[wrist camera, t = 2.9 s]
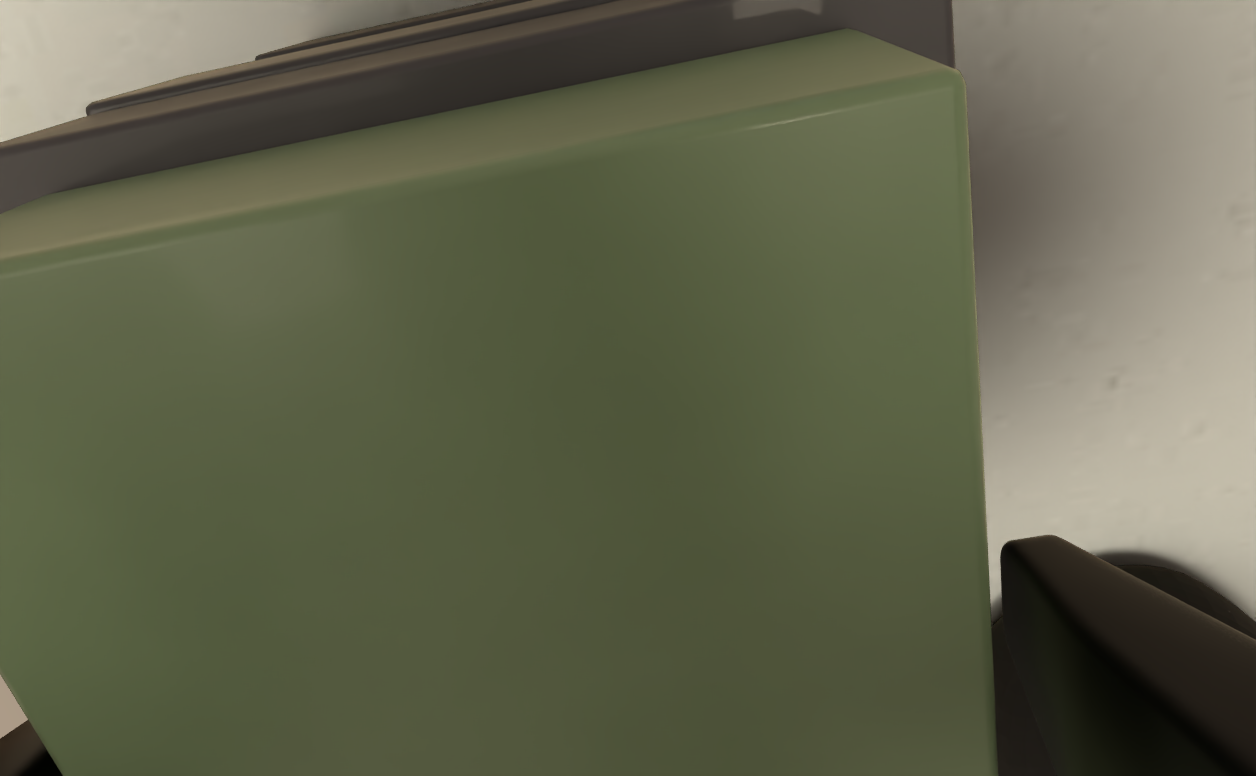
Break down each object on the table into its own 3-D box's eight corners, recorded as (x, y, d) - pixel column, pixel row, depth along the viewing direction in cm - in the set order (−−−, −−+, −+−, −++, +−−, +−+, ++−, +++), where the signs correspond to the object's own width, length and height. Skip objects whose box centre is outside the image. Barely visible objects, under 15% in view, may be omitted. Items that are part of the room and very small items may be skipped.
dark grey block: (465, 538, 20) (337, 968, 11) (303, 41, 16) (-83, 151, 7) (848, 476, 19) (1008, 889, 11) (785, -64, 15) (966, -75, 7)
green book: (387, 935, 11) (319, 1198, 9) (43, 193, 7) (-235, 308, 5) (934, 869, 11) (1018, 1133, 8) (857, 24, 7) (970, 66, 4)
